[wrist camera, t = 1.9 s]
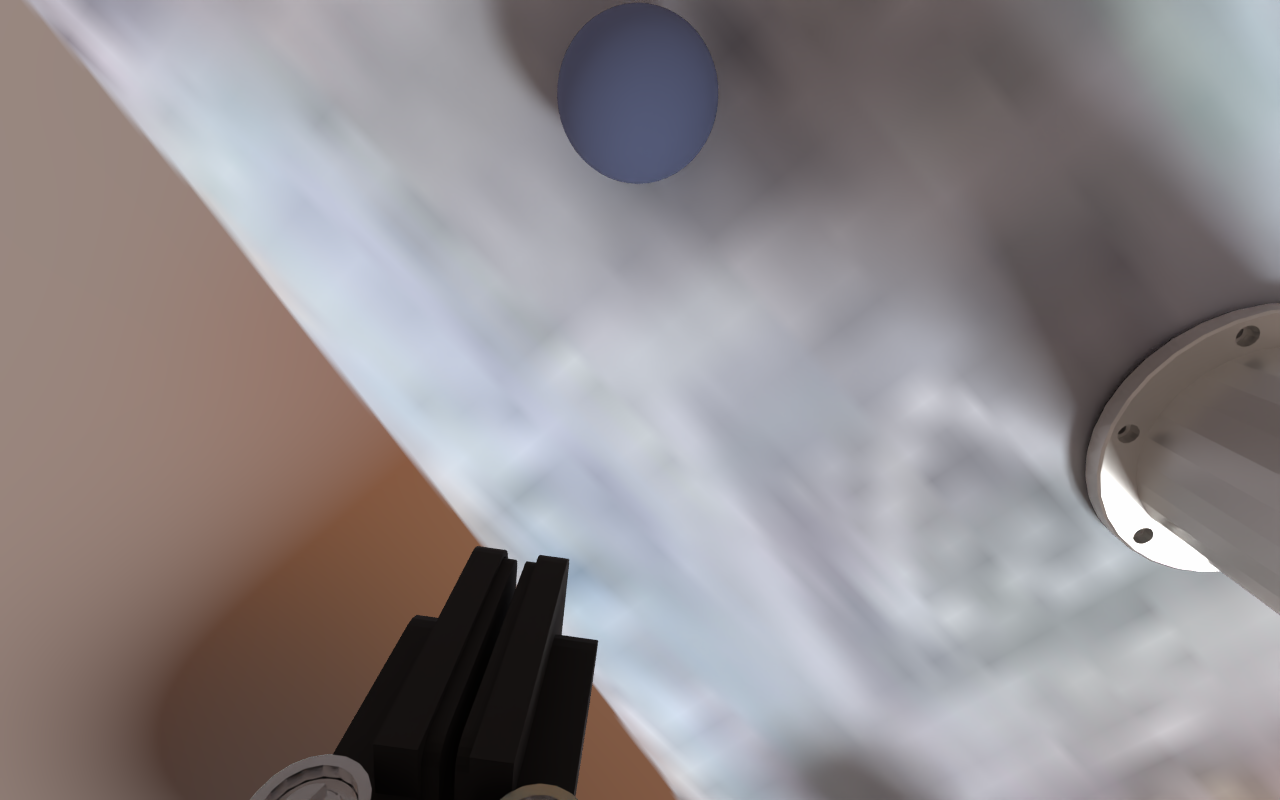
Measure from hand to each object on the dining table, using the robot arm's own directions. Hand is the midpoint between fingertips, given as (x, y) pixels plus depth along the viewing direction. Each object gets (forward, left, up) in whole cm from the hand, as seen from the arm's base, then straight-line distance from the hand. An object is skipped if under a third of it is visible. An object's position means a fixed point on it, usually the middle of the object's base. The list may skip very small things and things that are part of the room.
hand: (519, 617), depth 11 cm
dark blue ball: (0, -10, -14) cm, 17 cm away
